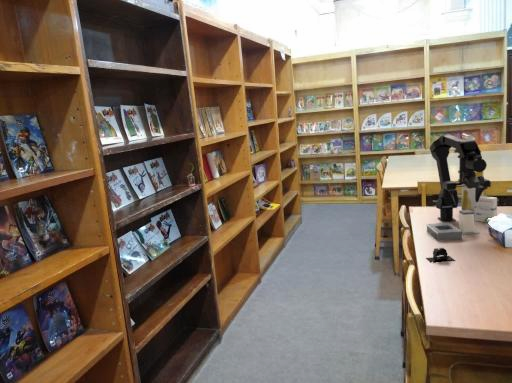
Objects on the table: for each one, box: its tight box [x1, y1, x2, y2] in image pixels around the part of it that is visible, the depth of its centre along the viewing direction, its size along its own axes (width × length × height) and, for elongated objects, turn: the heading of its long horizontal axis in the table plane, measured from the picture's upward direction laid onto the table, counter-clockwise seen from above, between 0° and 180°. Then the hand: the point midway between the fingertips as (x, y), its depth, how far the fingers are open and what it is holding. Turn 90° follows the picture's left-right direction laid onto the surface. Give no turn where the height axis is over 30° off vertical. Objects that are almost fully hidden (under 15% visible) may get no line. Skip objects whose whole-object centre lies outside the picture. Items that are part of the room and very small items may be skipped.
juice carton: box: [461, 171, 485, 218], centre depth 204 cm, size 9×8×24 cm
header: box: [425, 222, 463, 242], centre depth 180 cm, size 14×10×4 cm
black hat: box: [425, 247, 457, 264], centre depth 153 cm, size 12×7×5 cm, turn 90°
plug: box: [458, 209, 475, 232], centre depth 181 cm, size 4×4×9 cm
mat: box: [457, 227, 481, 236], centre depth 182 cm, size 8×8×1 cm
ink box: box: [474, 195, 498, 223], centre depth 193 cm, size 9×5×12 cm, turn 39°
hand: (466, 202), depth 182 cm, fingers open, 9 cm apart
